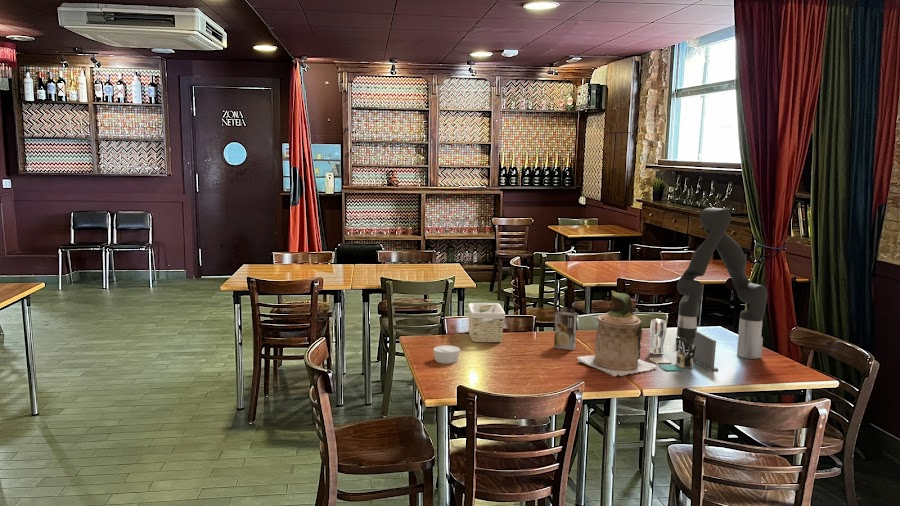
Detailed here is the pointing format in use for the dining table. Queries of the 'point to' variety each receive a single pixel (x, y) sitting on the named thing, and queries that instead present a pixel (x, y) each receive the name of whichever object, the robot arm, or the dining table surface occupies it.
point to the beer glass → (657, 335)
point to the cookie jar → (618, 340)
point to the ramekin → (446, 354)
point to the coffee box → (565, 330)
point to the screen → (705, 351)
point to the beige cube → (682, 359)
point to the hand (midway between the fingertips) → (684, 364)
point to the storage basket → (486, 322)
